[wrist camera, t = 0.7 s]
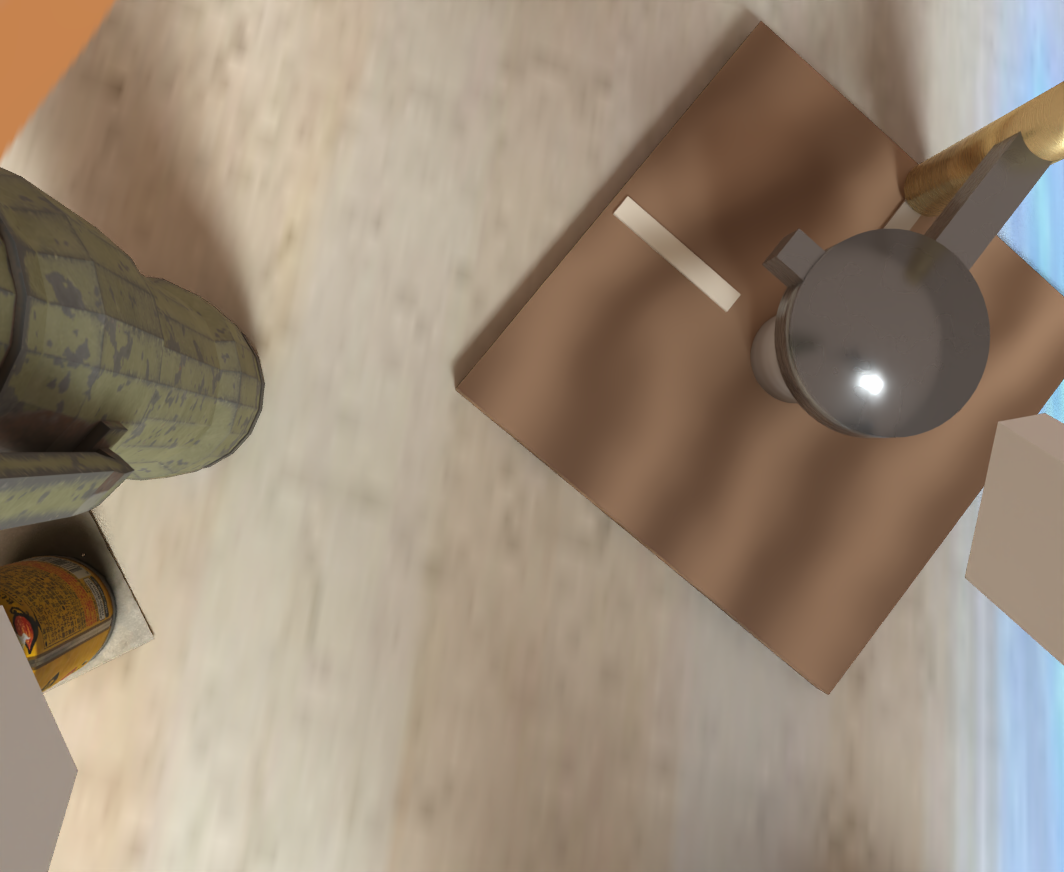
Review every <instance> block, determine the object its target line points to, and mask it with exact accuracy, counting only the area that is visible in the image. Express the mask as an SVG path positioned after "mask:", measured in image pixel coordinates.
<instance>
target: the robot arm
mask: <svg viewBox="0 0 1064 872" xmlns="http://www.w3.org/2000/svg"><path fill="white" fill-rule="evenodd" d="M965 578H966V579H967V580H968V581H969V582H970V583H971V584H973V585H974V586H975V587H976V588H977V589H978V590H979V591H980V592H982V593H983V594H984V595H985V596H986V597H987V598H988V599H989V600H991V601H992V602H993V603H994V604H995V605H996V606H997V607H998V608H1000V609H1001V610H1002V611H1003V612H1004V613H1005V614H1006V615H1007V616H1009V617H1010V618H1011V619H1012V620H1013V621H1014V622H1015V623H1016V624H1018V625H1019V626H1020V627H1021V628H1022V629H1023V630H1024V631H1025V632H1027V633H1028V634H1029V635H1030V636H1031V637H1032V638H1033V639H1034V640H1036V641H1037V642H1038V643H1039V644H1040V645H1041V646H1042V647H1043V648H1045V649H1046V650H1047V651H1048V652H1049V653H1050V654H1051V655H1052V656H1054V657H1055V658H1056V659H1057V660H1058V661H1059V662H1060V663H1061V664H1063V665H1064V424H1063V423H1061V422H1060V421H1058V420H1056V419H1054V418H1053V417H1051V416H1049V415H1047V414H1046V413H1043V414H1038V415H1032V416H1027V417H1021V418H1016V419H1011V420H1005V421H1000V422H998V424H997V429H996V434H995V438H994V443H993V448H992V452H991V457H990V462H989V466H988V471H987V476H986V480H985V485H984V490H983V494H982V499H981V504H980V508H979V513H978V518H977V523H976V527H975V532H974V537H973V541H972V546H971V551H970V555H969V560H968V565H967V569H966V574H965ZM77 772H78V770H77V768H76V765H75V763H74V761H73V759H72V757H71V754H70V752H69V750H68V748H67V746H66V743H65V741H64V739H63V737H62V735H61V732H60V730H59V728H58V726H57V724H56V722H55V719H54V717H53V715H52V713H51V711H50V708H49V706H48V704H47V702H46V700H45V697H44V695H43V693H42V691H41V689H40V686H39V684H38V682H37V680H36V678H35V675H34V673H33V671H32V669H31V667H30V665H29V662H28V660H27V658H26V656H25V654H24V651H23V649H22V647H21V645H20V643H19V640H18V638H17V636H16V634H15V632H14V629H13V627H12V625H11V623H10V621H9V619H8V616H7V614H6V612H5V610H4V608H3V605H1V606H0V872H48V870H49V866H50V863H51V860H52V856H53V853H54V850H55V846H56V843H57V839H58V836H59V833H60V829H61V826H62V822H63V819H64V816H65V812H66V809H67V806H68V802H69V799H70V795H71V792H72V789H73V785H74V782H75V778H76V775H77Z"/></svg>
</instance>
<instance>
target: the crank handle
mask: <svg viewBox="0 0 1064 872" xmlns="http://www.w3.org/2000/svg"><path fill="white" fill-rule="evenodd" d="M1062 159H1064V81H1063V82H1062V83H1060V84H1058V85H1056V86H1055V87H1053V88H1051V89H1049V90H1048V91H1046V92H1044V93H1042V94H1041V95H1039V96H1037V97H1035V98H1034V99H1032V100H1030V101H1028V102H1027V103H1025V104H1023V105H1021V106H1020V107H1018V108H1016V109H1014V110H1013V111H1011V112H1009V113H1008V114H1006V115H1004V116H1002V117H1001V118H999V119H997V120H995V121H994V122H992V123H990V124H988V125H987V126H985V127H983V128H981V129H980V130H978V131H976V132H974V133H973V134H971V135H969V136H967V137H966V138H964V139H962V140H961V141H959V142H957V143H955V144H954V145H952V146H950V147H948V148H947V149H945V150H943V151H941V152H940V153H938V154H936V155H934V156H933V157H931V158H929V159H927V160H926V161H924V162H922V163H920V164H919V165H917V166H915V167H914V168H913V169H912V170H911V171H910V172H909V173H908V175H907V177H906V179H905V183H904V194H905V198H906V200H907V202H908V204H909V206H910V207H911V208H912V209H913V210H914V211H915V212H916V213H918V214H920V215H922V216H926V217H935V216H938V217H937V219H936V220H935V221H934V223H933V224H932V225H931V226H930V228H929V229H928V230H927V232H926V233H925V234H924V235H922V234H919V233H916V232H912V231H909V230H902V229H877V230H870V231H867V232H863V233H860V234H857V235H855V236H852V237H850V238H848V239H846V240H844V241H842V242H840V243H838V244H836V245H834V246H832V247H829V248H827V249H825V250H823V249H822V248H821V247H820V246H818V245H817V244H816V243H815V242H814V241H813V240H812V239H811V238H809V237H808V236H807V235H806V234H805V233H804V232H803V231H802V230H800V229H797V230H795V231H794V232H792V233H790V234H789V235H787V236H785V237H783V239H782V240H781V241H780V242H779V244H778V245H777V246H776V247H775V249H774V250H773V251H772V252H771V254H770V255H769V256H768V257H767V259H766V260H765V261H764V262H763V264H762V265H763V266H764V267H765V268H766V269H767V270H768V271H769V272H771V273H772V274H773V275H774V276H775V277H776V278H777V279H779V280H780V281H781V282H782V283H783V284H784V285H785V286H787V288H786V290H785V292H784V294H783V296H782V299H781V302H780V304H779V307H778V311H777V316H776V320H775V331H774V342H775V352H776V358H777V363H778V366H779V369H780V373H781V375H782V377H783V380H784V382H785V384H786V386H787V388H788V389H789V391H790V393H791V395H792V396H793V397H794V399H795V400H796V401H797V403H798V404H799V405H800V406H801V407H802V408H803V409H804V410H805V411H806V412H807V413H808V414H809V415H810V416H811V417H812V418H814V419H815V420H816V421H818V422H819V423H820V424H822V425H824V426H826V427H828V428H829V429H831V430H834V431H836V432H839V433H841V434H844V435H848V436H852V437H859V438H897V437H908V436H914V435H918V434H921V433H924V432H927V431H930V430H932V429H934V428H936V427H938V426H940V425H942V424H943V423H945V422H946V421H948V420H949V419H951V418H952V417H953V416H954V415H955V414H956V413H957V412H959V411H960V410H961V409H962V408H963V406H964V405H965V404H966V403H967V402H968V401H969V399H970V398H971V396H972V395H973V393H974V392H975V390H976V389H977V386H978V384H979V382H980V380H981V378H982V376H983V373H984V370H985V367H986V364H987V359H988V354H989V346H990V324H989V317H988V311H987V308H986V304H985V301H984V298H983V295H982V293H981V291H980V288H979V286H978V284H977V282H976V281H975V279H974V277H973V276H972V274H971V273H970V271H969V270H970V268H971V267H972V266H973V264H974V263H975V262H976V261H977V259H978V258H979V257H980V255H981V254H982V253H983V251H984V250H985V249H986V248H987V246H988V245H989V244H990V242H991V241H992V240H993V238H994V237H995V236H996V235H997V233H998V232H999V231H1000V229H1001V228H1002V227H1003V225H1004V224H1005V223H1006V222H1007V220H1008V219H1009V218H1010V216H1011V215H1012V214H1013V212H1014V211H1015V210H1016V209H1017V207H1018V206H1019V205H1020V203H1021V202H1022V201H1023V199H1024V198H1025V197H1026V196H1027V194H1028V193H1029V192H1030V190H1031V189H1032V188H1033V187H1034V185H1035V184H1036V183H1037V181H1038V180H1039V179H1040V177H1041V176H1042V175H1043V174H1044V172H1045V171H1046V170H1047V168H1048V167H1049V166H1050V165H1051V164H1053V163H1056V162H1058V161H1060V160H1062Z"/></svg>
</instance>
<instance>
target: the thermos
mask: <svg viewBox="0 0 1064 872" xmlns="http://www.w3.org/2000/svg"><path fill="white" fill-rule="evenodd" d="M264 386H265V383H264V379H263V374H262V370H261V365H260V361H259V358H258V356H257V354H256V353H255V351H254V349H253V348H252V346H251V344H250V343H249V341H248V339H247V338H246V336H245V335H244V334H243V333H242V332H241V331H239V329H238V327H237V326H236V325H235V324H234V323H232V322H231V321H230V320H229V319H228V318H227V317H226V316H224V315H223V314H222V313H221V312H220V311H219V310H218V309H216V308H215V307H214V306H213V305H211V304H210V303H208V302H207V301H205V300H204V299H202V298H201V297H200V296H197V295H195V294H193V293H191V292H189V291H187V290H185V289H183V288H181V287H179V286H177V285H175V284H173V283H170V282H168V281H166V280H164V279H160V278H151V277H145V276H143V275H142V274H140V272H139V270H138V269H137V267H136V266H135V264H134V262H133V261H132V259H131V258H130V257H129V256H128V255H127V254H126V253H125V252H123V251H122V250H121V249H120V248H119V247H118V246H117V245H115V244H114V243H113V242H112V241H111V240H110V239H108V238H107V237H106V236H105V235H104V234H103V233H102V232H100V231H99V230H98V229H97V228H96V227H94V226H93V225H91V224H90V223H88V222H87V221H85V220H84V219H83V218H81V217H80V216H78V215H77V214H75V213H74V212H72V211H71V210H69V209H68V208H66V207H65V206H64V205H62V204H61V203H59V202H58V201H56V200H55V199H53V198H52V197H50V196H49V195H47V194H46V193H45V192H43V191H42V190H40V189H39V188H37V187H36V186H34V185H33V184H31V183H30V182H28V181H27V180H26V179H24V178H23V177H21V176H19V175H17V174H14V173H12V172H10V171H8V170H5V169H3V168H1V167H0V530H3V529H9V528H14V527H19V526H25V525H30V524H35V523H40V522H46V521H51V520H56V519H61V518H67V517H71V516H74V515H77V514H80V513H83V512H86V511H89V510H91V509H93V508H95V507H96V506H98V505H100V504H101V503H102V502H103V501H104V500H105V499H106V498H107V497H108V496H109V495H110V494H111V493H112V492H113V491H114V490H115V489H116V488H117V487H118V486H119V485H120V484H121V483H122V482H123V481H124V480H125V479H132V480H149V479H158V478H167V477H172V476H177V475H181V474H186V473H191V472H195V471H198V470H200V469H202V468H207V467H210V466H212V465H214V464H215V463H217V462H219V461H221V460H222V459H224V458H226V457H228V456H229V455H231V454H233V453H234V452H235V451H236V450H237V449H238V448H239V446H240V445H241V444H242V443H243V442H244V441H245V440H246V439H247V438H248V437H249V436H250V434H251V433H252V431H253V429H254V426H255V424H256V422H257V420H258V418H259V415H260V413H261V411H262V405H263V395H264Z"/></svg>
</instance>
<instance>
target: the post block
mask: <svg viewBox="0 0 1064 872" xmlns="http://www.w3.org/2000/svg"><path fill="white" fill-rule="evenodd" d="M917 165H919V164H918V163H917V162H915V161H914V160H913V159H912V158H911V157H910V156H909V155H908V154H907V153H906V152H904V151H903V150H902V149H901V148H900V147H899V146H898V145H897V144H896V143H895V142H893V141H892V140H891V139H890V138H889V137H888V136H887V135H886V134H885V133H884V132H883V131H881V130H880V129H879V128H878V127H877V126H876V125H875V124H874V123H873V122H872V121H870V120H869V119H868V118H867V117H866V116H865V115H864V114H863V113H862V112H861V111H859V110H858V109H857V108H856V107H855V106H854V105H853V104H852V103H851V102H850V101H849V100H847V99H846V98H845V97H844V96H843V95H842V94H841V93H840V92H839V91H838V90H836V89H835V88H834V87H833V86H832V85H831V84H830V83H829V82H828V81H827V80H825V79H824V78H823V77H822V76H821V75H820V74H819V73H818V72H817V71H816V70H815V69H813V68H812V67H811V66H810V65H809V64H808V63H807V62H806V61H805V60H804V59H802V58H801V57H800V56H799V55H798V54H797V53H796V52H795V51H794V50H793V49H791V48H790V47H789V46H788V45H787V44H786V43H785V42H784V41H783V40H782V39H781V38H779V37H778V36H777V35H776V34H775V33H774V32H773V31H772V30H771V29H770V28H768V27H767V26H766V25H765V24H764V23H763V22H762V21H761V22H760V23H759V24H758V25H757V26H756V28H755V29H754V30H753V31H752V32H751V34H750V35H749V36H748V37H747V38H746V40H745V41H744V42H743V43H742V44H741V46H740V47H739V48H738V49H737V50H736V52H735V53H734V54H733V55H732V56H731V58H730V59H729V60H728V61H727V62H726V64H725V65H724V66H723V67H722V69H721V70H720V71H719V72H718V73H717V75H716V76H715V77H714V78H713V79H712V81H711V82H710V83H709V84H708V85H707V87H706V88H705V89H704V90H703V91H702V93H701V94H700V95H699V96H698V97H697V99H696V100H695V101H694V102H693V103H692V105H691V106H690V107H689V108H688V109H687V111H686V112H685V113H684V114H683V115H682V117H681V118H680V119H679V120H678V122H677V123H676V124H675V125H674V126H673V128H672V129H671V130H670V131H669V132H668V134H667V135H666V136H665V137H664V138H663V140H662V141H661V142H660V143H659V144H658V146H657V147H656V148H655V149H654V150H653V152H652V153H651V154H650V155H649V156H648V158H647V159H646V160H645V161H644V162H643V164H642V165H641V166H640V167H639V168H638V170H637V171H636V172H635V173H634V175H633V176H632V177H631V178H630V179H629V181H628V182H627V183H626V184H625V185H624V187H623V188H622V189H621V190H620V191H619V193H618V194H617V195H616V196H615V197H614V199H613V200H612V201H611V202H610V203H609V205H608V206H607V207H606V208H605V209H604V211H603V212H602V213H601V214H600V215H599V217H598V218H597V219H596V220H595V222H594V223H593V224H592V225H591V226H590V228H589V229H588V230H587V231H586V232H585V234H584V235H583V236H582V237H581V238H580V240H579V241H578V242H577V243H576V244H575V246H574V247H573V248H572V249H571V250H570V252H569V253H568V254H567V255H566V256H565V258H564V259H563V260H562V261H561V262H560V264H559V265H558V266H557V267H556V268H555V270H554V271H553V272H552V273H551V275H550V276H549V277H548V278H547V279H546V281H545V282H544V283H543V284H542V285H541V287H540V288H539V289H538V290H537V291H536V293H535V294H534V295H533V296H532V297H531V299H530V300H529V301H528V302H527V303H526V305H525V306H524V307H523V308H522V309H521V311H520V312H519V313H518V314H517V315H516V317H515V318H514V319H513V320H512V321H511V323H510V324H509V325H508V326H507V328H506V329H505V330H504V331H503V332H502V334H501V335H500V336H499V337H498V338H497V340H496V341H495V342H494V343H493V344H492V346H491V347H490V348H489V349H488V350H487V352H486V353H485V354H484V355H483V356H482V358H481V359H480V360H479V361H478V362H477V364H476V365H475V366H474V367H473V368H472V370H471V371H470V372H469V373H468V375H467V376H466V377H465V378H464V379H463V381H462V382H461V383H460V384H459V385H458V387H457V388H456V391H457V392H459V393H460V394H461V395H462V396H463V397H465V398H466V399H467V400H468V401H469V402H471V403H472V404H473V405H474V406H476V407H477V408H478V409H479V410H480V411H482V412H483V413H484V414H485V415H486V416H488V417H489V418H490V419H491V420H492V421H494V422H495V423H496V424H497V425H499V426H500V427H501V428H502V429H503V430H505V431H506V432H507V433H508V434H509V435H511V436H512V437H513V438H514V439H515V440H517V441H518V442H519V443H520V444H522V445H523V446H524V447H525V448H526V449H528V450H529V451H530V452H531V453H532V454H534V455H535V456H536V457H537V458H539V459H540V460H541V461H542V462H543V463H545V464H546V465H547V466H548V467H549V468H551V469H552V470H553V471H554V472H555V473H557V474H558V475H559V476H560V477H562V478H563V479H564V480H565V481H566V482H568V483H569V484H570V485H571V486H572V487H574V488H575V489H576V490H577V491H578V492H580V493H581V494H582V495H583V496H585V497H586V498H587V499H588V500H589V501H591V502H592V503H593V504H594V505H595V506H597V507H598V508H599V509H600V510H602V511H603V512H604V513H605V514H606V515H608V516H609V517H610V518H611V519H612V520H614V521H615V522H616V523H617V524H618V525H620V526H621V527H622V528H623V529H625V530H626V531H627V532H628V533H629V534H631V535H632V536H633V537H634V538H635V539H637V540H638V541H639V542H640V543H641V544H643V545H644V546H645V547H646V548H648V549H649V550H650V551H651V552H652V553H654V554H655V555H656V556H657V557H658V558H660V559H661V560H662V561H663V562H665V563H666V564H667V565H668V566H669V567H671V568H672V569H673V570H674V571H675V572H677V573H678V574H679V575H680V576H681V577H683V578H684V579H685V580H686V581H688V582H689V583H690V584H691V585H692V586H694V587H695V588H696V589H697V590H698V591H700V592H701V593H702V594H703V595H704V596H706V597H707V598H708V599H709V600H711V601H712V602H713V603H714V604H715V605H717V606H718V607H719V608H720V609H721V610H723V611H724V612H725V613H726V614H728V615H729V616H730V617H731V618H732V619H734V620H735V621H736V622H737V623H738V624H740V625H741V626H742V627H743V628H744V629H746V630H747V631H748V632H749V633H751V634H752V635H753V636H754V637H755V638H757V639H758V640H759V641H760V642H761V643H763V644H764V645H765V646H766V647H767V648H769V649H770V650H771V651H772V652H774V653H775V654H776V655H777V656H778V657H780V658H781V659H782V660H783V661H784V662H786V663H787V664H788V665H789V666H791V667H792V668H793V669H794V670H795V671H797V672H798V673H799V674H800V675H801V676H803V677H804V678H805V679H806V680H807V681H809V682H810V683H811V684H812V685H814V686H815V687H816V688H818V689H819V690H821V691H823V692H824V693H826V694H828V695H829V694H830V692H831V691H832V690H833V688H834V687H835V686H836V684H837V683H838V682H839V680H840V679H841V677H842V676H843V675H844V673H845V672H846V671H847V669H848V668H849V667H850V665H851V664H852V663H853V661H854V660H855V659H856V657H857V656H858V655H859V653H860V652H861V651H862V649H863V648H864V647H865V645H866V644H867V643H868V641H869V640H870V639H871V637H872V636H873V634H874V633H875V632H876V630H877V629H878V628H879V626H880V625H881V624H882V622H883V621H884V620H885V618H886V617H887V616H888V614H889V613H890V612H891V610H892V609H893V608H894V606H895V605H896V604H897V602H898V601H899V600H900V598H901V597H902V596H903V594H904V593H905V591H906V590H907V589H908V587H909V586H910V585H911V583H912V582H913V581H914V579H915V578H916V577H917V575H918V574H919V573H920V571H921V570H922V569H923V567H924V566H925V565H926V563H927V562H928V561H929V559H930V558H931V557H932V555H933V554H934V553H935V551H936V550H937V548H938V547H939V546H940V544H941V543H942V542H943V540H944V539H945V538H946V536H947V535H948V534H949V532H950V531H951V530H952V528H953V527H954V526H955V524H956V523H957V522H958V520H959V519H960V518H961V516H962V515H963V514H964V512H965V511H966V510H967V508H968V507H969V505H970V504H971V503H972V501H973V500H974V499H975V497H976V496H977V495H978V493H979V492H980V491H981V489H982V488H983V487H984V485H985V480H986V476H987V471H988V466H989V462H990V457H991V452H992V448H993V443H994V438H995V434H996V429H997V424H998V422H1000V421H1005V420H1011V419H1016V418H1021V417H1027V416H1032V415H1037V414H1038V413H1039V411H1040V410H1041V409H1042V407H1043V406H1044V405H1045V403H1046V402H1047V401H1048V399H1049V398H1050V397H1051V395H1052V394H1053V393H1054V391H1055V390H1056V389H1057V387H1058V386H1059V385H1060V383H1061V382H1062V381H1063V379H1064V297H1063V296H1062V295H1061V294H1060V293H1059V292H1058V291H1057V290H1056V289H1055V288H1054V287H1052V286H1051V285H1050V284H1049V283H1048V282H1047V281H1046V280H1045V279H1044V278H1043V277H1042V276H1040V275H1039V274H1038V273H1037V272H1036V271H1035V270H1034V269H1033V268H1032V267H1031V266H1029V265H1028V264H1027V263H1026V262H1025V261H1024V260H1023V259H1022V258H1021V257H1020V256H1018V255H1017V254H1016V253H1015V252H1014V251H1013V250H1012V249H1011V248H1010V247H1009V246H1008V245H1006V244H1005V243H1004V242H1003V241H1002V240H1001V239H1000V238H999V237H998V236H997V235H996V236H995V237H994V238H993V240H992V241H991V242H990V244H989V245H988V246H987V248H986V249H985V250H984V251H983V253H982V254H981V255H980V257H979V258H978V259H977V261H976V262H975V263H974V264H973V266H972V267H971V268H970V270H969V271H970V273H971V274H972V276H973V277H974V279H975V281H976V282H977V284H978V286H979V288H980V291H981V293H982V295H983V298H984V301H985V304H986V308H987V311H988V317H989V324H990V346H989V354H988V359H987V364H986V367H985V370H984V373H983V376H982V378H981V380H980V382H979V384H978V386H977V389H976V390H975V392H974V393H973V395H972V396H971V398H970V399H969V401H968V402H967V403H966V404H965V405H964V406H963V408H962V409H961V410H960V411H959V412H957V413H956V414H955V415H954V416H953V417H952V418H951V419H949V420H948V421H946V422H945V423H943V424H942V425H940V426H938V427H936V428H934V429H932V430H930V431H927V432H924V433H921V434H918V435H914V436H908V437H897V438H859V437H852V436H848V435H844V434H841V433H839V432H836V431H834V430H831V429H829V428H828V427H826V426H824V425H822V424H820V423H819V422H818V421H816V420H815V419H814V418H812V417H811V416H810V415H809V414H808V413H807V412H806V411H805V410H804V409H803V408H802V407H801V406H800V405H799V404H798V403H797V401H796V400H795V399H794V397H793V396H792V395H791V393H790V391H789V389H788V388H787V386H786V384H785V382H784V380H783V377H782V375H781V373H780V369H779V366H778V363H777V358H776V352H775V342H774V331H775V320H776V316H777V311H778V307H779V304H780V302H781V299H782V296H783V294H784V292H785V290H786V288H787V286H785V285H784V284H783V283H782V282H781V281H780V280H779V279H777V278H776V277H775V276H774V275H773V274H772V273H771V272H769V271H768V270H767V269H766V268H765V267H764V266H763V265H762V264H763V262H764V261H765V260H766V259H767V257H768V256H769V255H770V254H771V252H772V251H773V250H774V249H775V247H776V246H777V245H778V244H779V242H780V241H781V240H782V239H783V237H785V236H787V235H789V234H790V233H792V232H794V231H795V230H797V229H800V230H802V231H803V232H804V233H805V234H806V235H807V236H808V237H809V238H811V239H812V240H813V241H814V242H815V243H816V244H817V245H818V246H820V247H821V248H822V249H823V250H825V249H827V248H829V247H832V246H834V245H836V244H838V243H840V242H842V241H844V240H846V239H848V238H850V237H852V236H855V235H857V234H860V233H863V232H867V231H870V230H877V229H902V230H909V231H912V232H916V233H919V234H922V235H924V234H925V233H926V232H927V230H928V229H929V228H930V226H931V225H932V224H933V223H934V221H935V220H936V219H937V217H938V216H935V217H926V216H922V215H920V214H918V213H916V212H915V211H914V210H913V209H912V208H911V207H910V206H909V204H908V202H907V200H906V198H905V194H904V183H905V179H906V177H907V175H908V173H909V172H910V171H911V170H912V169H913V168H914V167H915V166H917Z"/></svg>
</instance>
